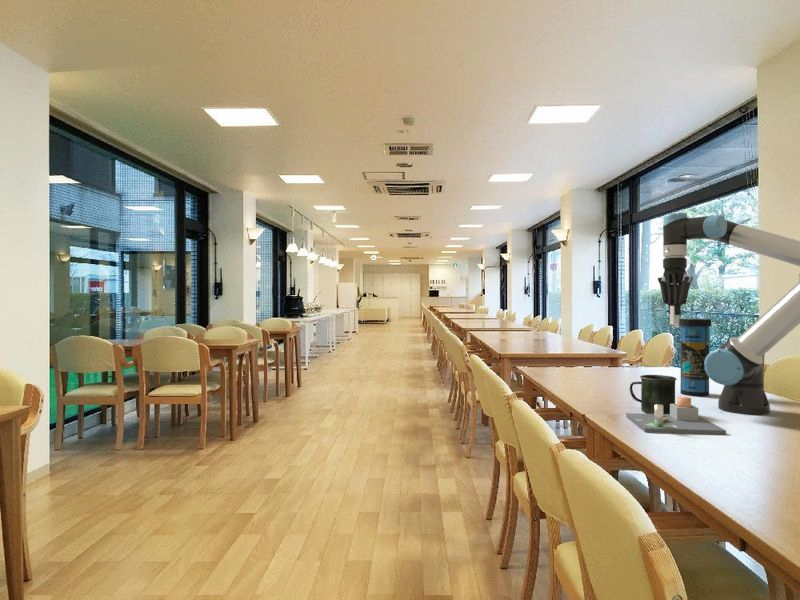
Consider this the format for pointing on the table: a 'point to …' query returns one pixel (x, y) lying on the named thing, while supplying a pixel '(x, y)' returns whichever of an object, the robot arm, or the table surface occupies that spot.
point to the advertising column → (694, 356)
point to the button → (684, 402)
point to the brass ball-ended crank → (659, 415)
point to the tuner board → (677, 422)
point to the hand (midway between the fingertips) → (674, 324)
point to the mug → (656, 392)
